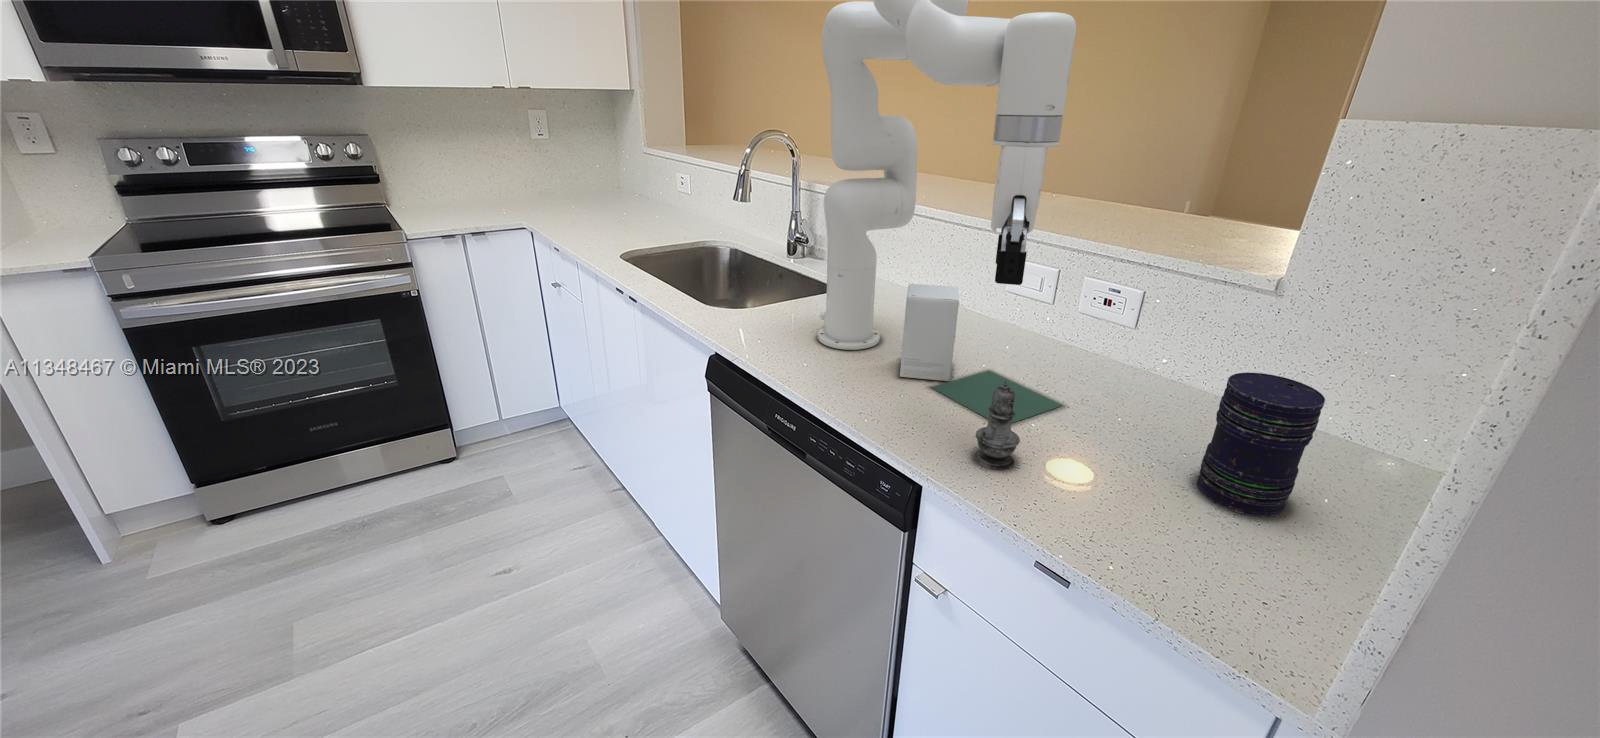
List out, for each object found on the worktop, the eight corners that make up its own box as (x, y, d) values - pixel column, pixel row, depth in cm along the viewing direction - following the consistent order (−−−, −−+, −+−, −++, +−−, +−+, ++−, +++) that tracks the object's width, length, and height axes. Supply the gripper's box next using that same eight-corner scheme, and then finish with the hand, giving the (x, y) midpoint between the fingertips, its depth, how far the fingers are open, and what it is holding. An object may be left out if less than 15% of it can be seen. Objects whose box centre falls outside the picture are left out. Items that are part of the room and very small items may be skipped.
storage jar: (1251, 525, 77) (1291, 414, 71) (1178, 482, 85) (1208, 379, 79) (1303, 506, 81) (1346, 399, 75) (1228, 466, 89) (1261, 367, 83)
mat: (930, 387, 111) (931, 387, 111) (989, 371, 118) (989, 370, 118) (1001, 427, 99) (1002, 426, 99) (1062, 405, 105) (1062, 405, 105)
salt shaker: (993, 474, 86) (1005, 394, 82) (963, 454, 91) (973, 376, 86) (1025, 464, 89) (1039, 385, 84) (995, 444, 94) (1006, 369, 89)
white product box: (950, 382, 113) (960, 300, 107) (899, 377, 114) (905, 296, 108) (950, 363, 121) (958, 285, 115) (902, 359, 123) (908, 282, 117)
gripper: (994, 128, 85) (979, 256, 92) (992, 135, 70) (975, 289, 76) (1055, 129, 83) (1035, 260, 90) (1067, 137, 68) (1042, 294, 74)
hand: (1007, 273), depth 83 cm, fingers open, 9 cm apart
